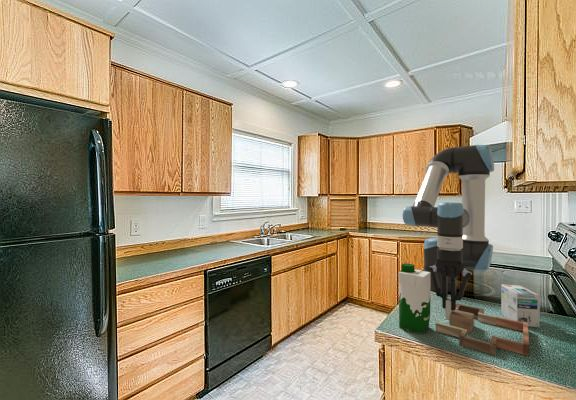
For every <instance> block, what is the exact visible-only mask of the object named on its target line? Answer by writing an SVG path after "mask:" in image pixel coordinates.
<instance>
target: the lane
mask: <svg viewBox="0 0 576 400" xmlns="http://www.w3.org/2000/svg"><path fill="white" fill-rule="evenodd" d="M455 310H458V308H456V309H455ZM477 322H480V323H485V324H489V325H493V326H498V327H503V328H507V329H512V330H514V331H519V332H522V342H520V341H514V340H511V339H507V338H504V337H503V338H502V337H499V336H496V335H495V336H494V335H491V338H496V339H497V349H501V350H505V351H509V352H512V353H516V354H520V355H525V356H527V357H528V356H529V357H530V341H529V340H530V338H529V326H528V323H524V322H520V321H515V320H510V319H508V318H507V317H500V316H497V315H491V314H490V315H489V314H486V313H484V314H482V313H478V320H477ZM434 330H435V332H436V333H441V334H445V335H449V336H453V337H456V338H459V336H460V334H461V332H462V330H464V331H467V336H468V333H469V332H468V330H467V329H463V328H459V327H455V326H451V325H450V324H446V323H442V322H439V321H436V322H435V329H434Z"/></svg>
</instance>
